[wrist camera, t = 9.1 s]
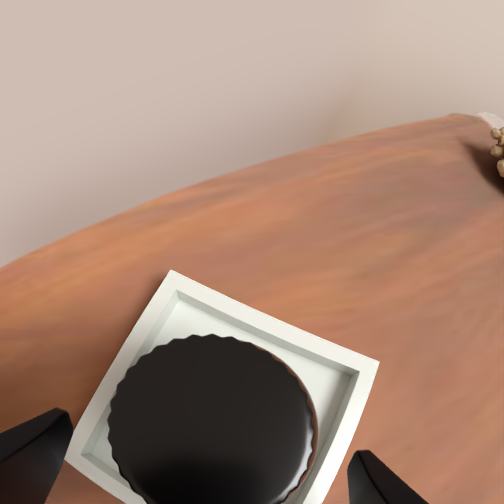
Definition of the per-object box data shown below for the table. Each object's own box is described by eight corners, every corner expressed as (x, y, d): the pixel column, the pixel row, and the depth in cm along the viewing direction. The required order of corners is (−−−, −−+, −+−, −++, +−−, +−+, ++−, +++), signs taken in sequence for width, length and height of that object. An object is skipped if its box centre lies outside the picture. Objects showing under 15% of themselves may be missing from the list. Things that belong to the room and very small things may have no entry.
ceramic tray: (277, 555, 12) (282, 568, 10) (76, 455, 15) (60, 456, 13) (365, 369, 19) (379, 361, 17) (176, 284, 21) (170, 269, 20)
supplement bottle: (306, 432, 16) (414, 432, 6) (218, 504, 14) (200, 605, 3) (229, 351, 19) (227, 245, 8) (142, 418, 16) (23, 393, 6)
